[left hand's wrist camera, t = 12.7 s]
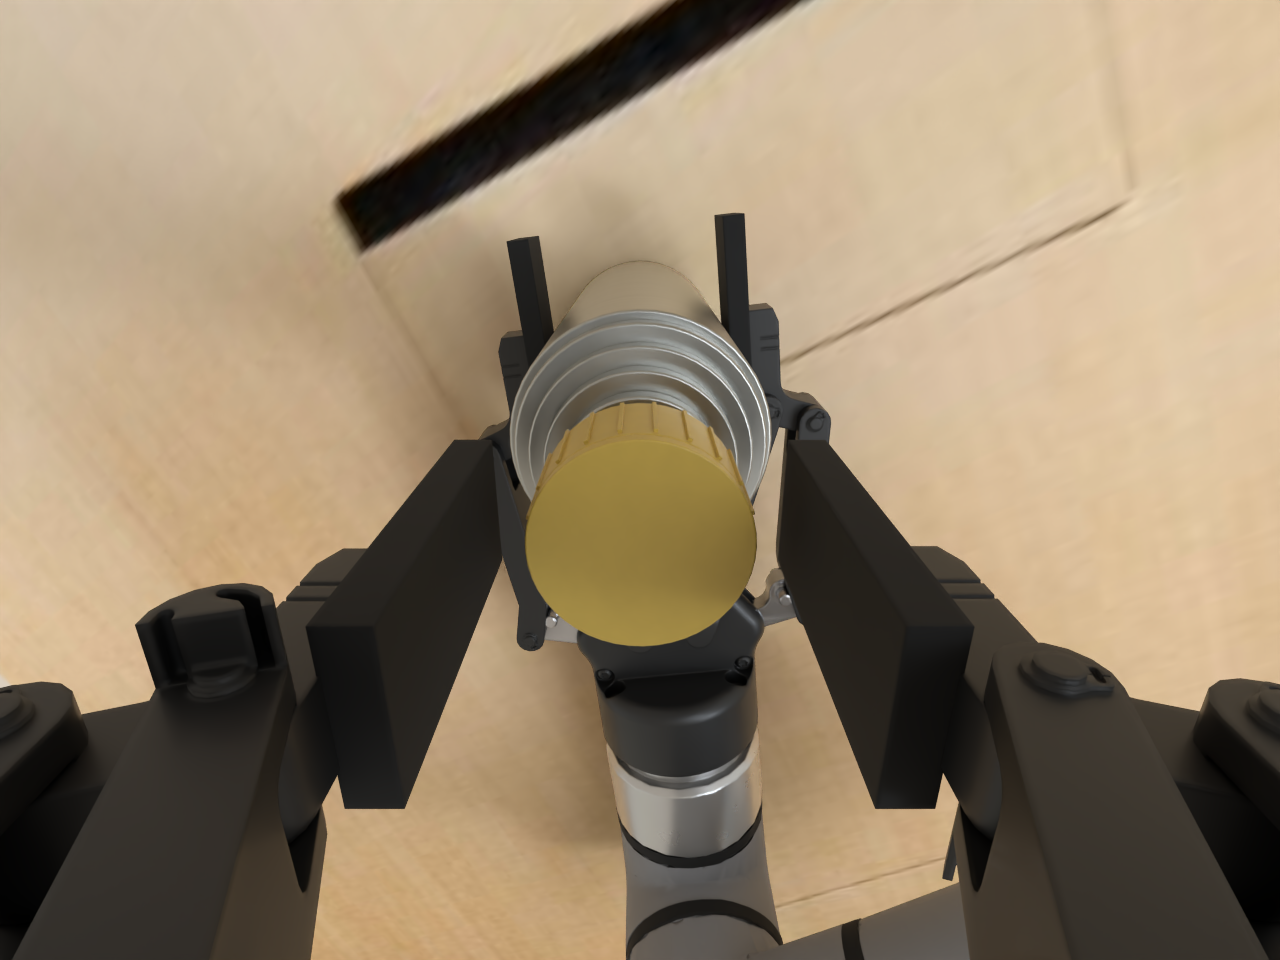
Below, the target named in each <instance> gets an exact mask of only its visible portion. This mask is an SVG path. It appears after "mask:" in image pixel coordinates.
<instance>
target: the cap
mask: <svg viewBox="0 0 1280 960" xmlns="http://www.w3.org/2000/svg"><path fill="white" fill-rule="evenodd" d="M535 489H536V491H535V494H534V497H533V499H532V502H531V505H530V507H529V510H528V513H527V515H526V520H528V521H527V524H526V532H525V554H526V560H527V565H528V568H529V571H530V574H531V577H532V579H533V582H534V584H535V586H536V588H537V590H538V591H539V593H540V594H541V596H542V597H543V599H544V600H545V602H546V603H547V604H548V605H549V606H550V607H551V609H552V610H553V611H554V612H555V613H556V614H557V615H559V616H560V617H561V618H562V619H563V620H564V621H566V622H567V623H569V624H570V625H571V626H573V627H574V628H576V629H578V630H580V631H581V632H583V633H585V634H587V635H589V636H592V637H595V638H597V639H600V640H603V641H607V642H610V643H614V644H620V645H627V646H654V645H661V644H667V643H672V642H675V641H678V640H682V639H685V638H687V637H690V636H692V635H694V634H696V633H698V632H700V631H702V630H704V629H705V628H707V627H709V626H710V625H712V624H713V623H714V622H716V621H717V620H718V619H720V618H721V617H722V616H723V615H724V614H725V613H726V612H727V611H728V610H729V609H730V608H731V607H732V606H733V605H734V603H735V602H736V601H737V600H738V598H739V597H740V595H741V594H742V592H743V590H744V589H745V587H746V585H747V583H748V581H749V578H750V576H751V573H752V570H753V566H754V563H755V558H756V549H757V536H756V528H755V522H754V518H753V515H754V514H755V513H754V509H753V506H752V504H751V501H750V498H749V496H748V493H747V490H746V488H745V485H744V482H743V480H742V477H741V475H740V473H739V470H738V468H737V465H736V462H735V460H734V457H733V454H732V452H731V450H730V449H728V450H727V449H726V447H725V446H724V444H723V443H722V442H721V440H720V439H719V438H718V437H717V436H716V435H715V434H714V431H713V428H712V427H711V426H709V427H707V426H706V425H704V424H703V423H702V422H700V421H699V420H697V419H696V418H694V417H692V416H691V415H689V414H687V411H685V410H683V411H680V410H677V409H674V408H671V407H667V406H663V405H657V404H656V402H652V404H649V403H633V404H624V402H623V403H620V405H619V406H614V407H610V408H608V409H605V410H602V411H599V412H597V413H594V412H592V413H590V416H589V417H587V418H586V419H584V420H583V421H581V422H580V423H578V424H577V425H576V426H575V427H573V428H572V429H571V430H570V431H569V430H568V429H567V430H566V431H565V434H564V437H563V439H562V440H561V441H560V442H559V443H558V445H557V446H556V448H555V450H554V451H553V453H552V454H551V453H549V454H548V456H547V459H546V462H545V464H544V467H543V470H542V472H541V475H540V478H539V480H538V483H537V486H536V488H535Z"/></svg>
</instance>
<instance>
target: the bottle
mask: <svg viewBox="0 0 1280 960" xmlns="http://www.w3.org/2000/svg"><path fill="white" fill-rule="evenodd" d="M623 402H624V404H633V403H649V404H652V402H656V404H657V405H663V406H667V407H671V408H674V409H677V410H680V411H683V410H685V411H687V414H689V415H691V416H692V417H694V418H696V419H697V420H699V421H700V422H702V423H703V424H704V425H706V426H707V427H709V426H711V427H712V428H713V431H714V434H715V435H716V436H717V437H718V438H719V439H720V440H721V442H722V443H723V444H724V446H725V447H726V449H727V450H728V449H730V450H731V452H732V454H733V457H734V460H735V462H736V465H737V468H738V470H739V473H740V475H741V477H742V480H743V482H744V485H745V488H746V490H747V493H748V496H749V498H750V501H751V500H752V498H753V496H754V494H755V493H756V491H757V489H758V487H759V486H760V483H761V481H762V478H763V476H764V473H765V471H766V467H767V463H768V459H769V455H770V447H771V420H770V413H769V407H768V404H767V400H766V397H765V394H764V391H763V388H762V386H761V384H760V382H759V380H758V378H757V376H756V374H755V372H754V371H753V369H752V368H751V366H750V365H749V363H748V362H747V360H746V359H745V357H744V356H743V354H742V353H741V352H740V350H739V349H738V347H737V346H736V344H735V343H734V341H733V340H732V339H731V337H730V336H729V334H728V333H727V331H726V330H725V329H724V327H723V326H722V324H721V323H720V321H719V320H718V318H717V317H716V316H715V314H714V313H713V311H712V310H711V308H710V307H709V305H708V304H707V303H706V301H705V300H704V298H703V297H702V295H701V294H700V292H699V291H698V290H697V288H696V287H695V286H694V285H693V284H692V283H691V282H690V281H689V280H688V279H687V278H686V277H685V276H683V275H682V274H680V273H679V272H677V271H676V270H674V269H672V268H670V267H668V266H665V265H662V264H659V263H654V262H648V261H634V262H627V263H623V264H619V265H616V266H614V267H611V268H609V269H607V270H605V271H604V272H602V273H601V274H599V275H598V276H597V277H595V278H594V279H593V280H592V281H591V282H590V283H589V284H588V285H587V286H586V287H585V289H584V290H583V291H582V292H581V294H580V295H579V297H578V298H577V300H576V301H575V303H574V304H573V306H572V307H571V308H570V310H569V311H568V313H567V314H566V316H565V317H564V319H563V320H562V321H561V323H560V324H559V326H558V327H557V329H556V330H555V332H554V333H553V334H552V336H551V337H550V339H549V340H548V342H547V343H546V345H545V346H544V348H543V349H542V350H541V352H540V353H539V355H538V356H537V358H536V359H535V361H534V362H533V363H532V365H531V366H530V368H529V370H528V372H527V373H526V375H525V377H524V378H523V380H522V382H521V385H520V387H519V390H518V392H517V395H516V397H515V401H514V405H513V409H512V414H511V423H510V446H511V452H512V458H513V463H514V466H515V469H516V472H517V475H518V478H519V480H520V482H521V484H522V487H523V489H524V491H525V492H526V494H527V496H528V497H529V499H530V500H531V502H532V499H533V497H534V494H535V491H536V489H535V488H536V486H537V483H538V480H539V478H540V475H541V472H542V470H543V467H544V464H545V462H546V459H547V456H548V454H549V453H551V454H552V453H553V451H554V450H555V448H556V446H557V445H558V443H559V442H560V441H561V440H562V439H563V437H564V434H565V431H566V430H567V429H568V430H569V431H570V430H571V429H572V428H573V427H575V426H576V425H577V424H578V423H580V422H581V421H583V420H584V419H586V418H587V417H589V416H590V413H592V412H594V413H597V412H599V411H602V410H605V409H608V408H610V407H614V406H619V405H620V403H623Z"/></svg>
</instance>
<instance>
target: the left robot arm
mask: <svg viewBox="0 0 1280 960" xmlns="http://www.w3.org/2000/svg"><path fill="white" fill-rule="evenodd" d="M501 561H502V551H501V539H500V527H499V516H498V504H497V492H496V481H495V469H494V457H493V446H492V440H454V441H453V442H452V444H451V445H450V446H449V447H448V449H447V450H446V451H445V452H444V454H443V455H442V456H441V457H440V459H439V460H438V461H437V462H436V464H435V465H434V466H433V467H432V469H431V470H430V471H429V472H428V474H427V475H426V476H425V477H424V479H423V480H422V481H421V482H420V484H419V485H418V486H417V487H416V489H415V490H414V491H413V492H412V494H411V495H410V496H409V497H408V499H407V500H406V501H405V502H404V504H403V505H402V506H401V507H400V509H399V510H398V511H397V512H396V514H395V515H394V516H393V517H392V519H391V520H390V521H389V522H388V524H387V525H386V526H385V527H384V529H383V530H382V531H381V532H380V534H379V535H378V536H377V537H376V539H375V540H374V541H373V542H372V544H371V545H370V546H369V547H368V549H342V550H340V551H338V552H337V553H335V554H333V555H331V556H330V557H328V558H326V559H325V560H323V561H321V562H319V563H318V564H316V565H315V566H314V567H313V569H312V570H311V571H310V572H309V573H308V574H307V575H306V576H305V577H304V578H303V580H302V581H301V582H300V586H296V587H295V588H294V589H293V591H292V592H291V593H290V594H289V595H288V596H287V597H286V601H283V602H282V603H281V604H280V605H279V606H278V607H277V608H276V607H275V602H274V598H273V594H272V593H271V592H269V591H268V590H267V589H265V588H264V587H262V586H257V585H252V584H246V583H238V584H221V585H216V586H211V587H207V588H202V589H197V590H194V591H191V592H188V593H186V594H183V595H180V596H178V597H175V598H172V599H170V600H168V601H166V602H164V603H163V604H161V605H159V606H157V607H156V608H154V609H152V610H150V611H149V612H148V613H147V614H146V615H145V616H144V617H143V618H141V619H140V620H139V621H138V622H137V623H136V624H135V627H136V630H137V633H138V636H139V639H140V642H141V645H142V648H143V651H144V654H145V657H146V660H147V663H148V666H149V669H150V672H151V676H152V679H153V682H154V685H155V688H156V689H155V691H154V693H153V695H152V697H151V699H150V701H146V702H142V703H137V704H132V705H127V706H122V707H117V708H112V709H107V710H102V711H97V712H92V713H87V714H82V715H81V713H80V710H79V707H78V705H77V702H76V700H75V697H74V694H73V692H72V691H71V690H70V689H68V688H67V687H65V686H64V685H63V684H60V683H50V682H35V683H28V684H21V685H11V686H7V687H3V688H0V960H310V959H311V952H312V944H313V937H314V929H315V922H316V914H317V907H318V899H319V892H320V884H321V877H322V869H323V862H324V854H325V847H326V839H327V829H326V822H325V816H324V812H323V808H322V803H323V801H324V799H325V797H326V796H327V794H328V792H329V790H330V788H331V786H332V784H333V782H334V781H335V779H336V777H337V775H338V780H339V784H340V789H341V793H342V798H343V803H344V807H345V809H405V806H406V804H407V801H408V799H409V796H410V794H411V791H412V789H413V786H414V784H415V781H416V778H417V776H418V773H419V771H420V768H421V766H422V763H423V761H424V758H425V755H426V753H427V750H428V748H429V745H430V743H431V740H432V738H433V735H434V732H435V730H436V727H437V725H438V722H439V720H440V717H441V715H442V712H443V709H444V707H445V704H446V702H447V699H448V697H449V694H450V692H451V689H452V686H453V684H454V681H455V679H456V676H457V674H458V671H459V669H460V666H461V664H462V661H463V658H464V656H465V653H466V651H467V648H468V646H469V643H470V641H471V638H472V635H473V633H474V630H475V628H476V625H477V623H478V620H479V618H480V615H481V612H482V610H483V607H484V605H485V602H486V600H487V597H488V595H489V592H490V589H491V587H492V584H493V582H494V579H495V577H496V574H497V572H498V569H499V566H500V564H501ZM778 561H779V564H780V567H781V569H782V572H783V574H784V577H785V579H786V582H787V584H788V587H789V589H790V592H791V595H792V597H793V600H794V602H795V605H796V607H797V610H798V612H799V615H800V618H801V620H802V623H803V625H804V628H805V630H806V633H807V635H808V638H809V641H810V643H811V646H812V648H813V651H814V653H815V656H816V658H817V661H818V664H819V666H820V669H821V671H822V674H823V676H824V679H825V681H826V684H827V687H828V689H829V692H830V694H831V697H832V699H833V702H834V704H835V707H836V709H837V712H838V715H839V717H840V720H841V722H842V725H843V727H844V730H845V732H846V735H847V738H848V740H849V743H850V745H851V748H852V750H853V753H854V755H855V758H856V761H857V763H858V766H859V768H860V771H861V773H862V776H863V778H864V781H865V784H866V786H867V789H868V791H869V794H870V796H871V799H872V801H873V804H874V807H875V809H935V807H936V803H937V798H938V793H939V789H940V784H941V780H942V775H943V773H944V775H945V777H946V779H947V781H948V783H949V784H950V786H951V788H952V790H953V792H954V794H955V796H956V797H957V799H958V801H959V804H958V808H957V812H956V816H955V821H954V825H953V829H952V834H951V838H950V842H949V846H948V851H947V855H946V859H945V864H944V871H943V878H942V879H946V880H950V881H952V879H953V875H954V871H955V867H956V865H957V868H958V875H959V883H960V890H961V897H962V905H963V912H964V920H965V927H966V935H967V942H968V950H969V957H970V960H1280V684H1276V683H1271V682H1262V681H1255V680H1248V679H1241V678H1239V679H1229V680H1220V681H1218V682H1217V683H1215V684H1214V685H1213V686H1211V687H1210V688H1209V689H1208V692H1207V694H1206V697H1205V700H1204V702H1203V705H1202V707H1201V710H1200V711H1195V710H1190V709H1184V708H1179V707H1174V706H1169V705H1164V704H1159V703H1154V702H1149V701H1144V700H1139V699H1135V698H1131V697H1129V695H1128V694H1127V692H1126V690H1125V688H1124V687H1123V685H1122V684H1121V683H1120V682H1119V681H1118V680H1117V678H1116V677H1115V676H1114V675H1113V674H1112V673H1111V672H1110V671H1108V670H1107V669H1105V668H1104V667H1102V666H1101V665H1099V664H1098V663H1096V662H1095V661H1094V660H1092V659H1090V658H1087V657H1085V656H1083V655H1081V654H1078V653H1076V652H1074V651H1071V650H1069V649H1066V648H1062V647H1058V646H1054V645H1050V644H1046V643H1038V642H1037V641H1036V640H1035V639H1034V638H1033V637H1032V636H1031V635H1030V633H1029V632H1028V631H1027V630H1026V629H1025V628H1024V627H1023V626H1022V625H1021V624H1020V622H1019V621H1018V620H1017V619H1016V618H1015V617H1014V616H1013V615H1012V614H1011V613H1010V612H1009V610H1008V609H1007V608H1006V607H1005V606H1004V605H1003V604H1002V603H1001V602H1000V601H999V600H998V599H995V598H994V594H993V593H992V592H991V591H990V590H989V589H988V588H987V586H986V585H985V584H984V583H981V582H980V579H979V578H978V577H977V576H976V574H975V573H974V572H973V571H972V570H971V569H970V568H969V567H968V566H967V565H966V563H965V562H963V561H962V560H960V559H958V558H957V557H955V556H953V555H951V554H950V553H948V552H946V551H944V550H943V549H941V548H939V547H937V546H910V545H909V544H908V542H907V541H906V540H905V539H904V537H903V536H902V535H901V534H900V532H899V531H898V530H897V529H896V527H895V526H894V525H893V524H892V522H891V521H890V520H889V519H888V517H887V516H886V515H885V514H884V512H883V511H882V510H881V509H880V507H879V506H878V505H877V504H876V502H875V501H874V500H873V499H872V497H871V496H870V495H869V494H868V492H867V491H866V490H865V489H864V487H863V486H862V485H861V484H860V482H859V481H858V480H857V479H856V477H855V476H854V475H853V474H852V472H851V471H850V470H849V469H848V467H847V466H846V465H845V464H844V462H843V461H842V460H841V459H840V457H839V456H838V455H837V454H836V452H835V451H834V450H833V449H832V447H831V446H830V445H829V444H828V442H827V441H826V440H788V446H787V457H786V469H785V481H784V492H783V504H782V516H781V527H780V539H779V551H778Z"/></svg>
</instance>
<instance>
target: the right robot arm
mask: <svg viewBox="0 0 1280 960" xmlns="http://www.w3.org/2000/svg"><path fill="white" fill-rule="evenodd" d="M714 216H715V231H716V247H717V263H718V278H719V294H720V310H721V324H722V326H723V327H724V329H725V330H726V331H727V333H728V334H729V336H730V337H731V339H732V340H733V341H734V343H735V344H736V346H737V347H738V349H739V350H740V352H741V353H742V354H743V356H744V357H745V359H746V360H747V362H748V363H749V365H750V366H751V368H752V369H753V371H754V372H755V374H756V376H757V378H758V380H759V382H760V384H761V386H762V388H763V391H764V394H765V397H766V400H767V404H768V407H769V413H770V420H771V447H770V453H771V450H772V447H773V444H774V441H775V438H776V435H777V432H778V429H779V427H782V428H785V440H784V452H783V464H782V477H781V489H780V501H779V513H778V526H777V538H776V556H777V562H778V566H779V568H774V569H772V570H771V572H770V574H769V575H768V577H767V579H766V589H765V591H764V593H763V594H762V595H761V596H759V597H757V598H755V597H754V596H753V595H752V594H751V593H750V592H749V591H748V590H747V589H746V588H745V589H744V590H743V592H742V594H741V595H740V597H739V598H738V600H737V601H736V602H735V603H734V605H733V606H732V607H731V608H730V609H729V610H728V611H727V612H726V613H725V614H724V615H723V616H722V617H721V618H720V619H718V620H717V621H716V622H714V623H713V624H712V625H710V626H709V627H707V628H705V629H704V630H702V631H700V632H698V633H696V634H694V635H692V636H690V637H687V638H685V639H682V640H678V641H675V642H672V643H667V644H661V645H654V646H627V645H620V644H614V643H610V642H607V641H603V640H600V639H597V638H595V637H592V636H589V635H587V634H585V633H583V632H581V631H580V630H578V629H576V628H574V627H573V626H571V625H570V624H569V623H567V622H566V621H564V620H563V619H562V618H561V617H560V616H559V615H557V614H556V613H555V612H554V611H553V610H552V609H551V607H550V606H549V605H548V604H547V603H546V602H545V600H544V599H543V597H542V596H541V594H540V593H539V591H538V590H537V588H536V586H535V584H534V582H533V579H532V577H531V574H530V571H529V568H528V565H527V560H526V554H525V532H526V524H527V521H528V520H526V515H527V513H528V510H529V507H530V505H531V500H530V499H529V497H528V496H527V494H526V492H525V491H524V489H523V487H522V484H521V482H520V480H519V478H518V475H517V472H516V469H515V466H514V463H513V458H512V452H511V446H510V423H511V414H512V409H513V405H514V401H515V397H516V395H517V392H518V390H519V387H520V385H521V382H522V380H523V378H524V377H525V375H526V373H527V372H528V370H529V368H530V366H531V365H532V363H533V362H534V361H535V359H536V358H537V356H538V355H539V353H540V352H541V350H542V349H543V348H544V346H545V345H546V343H547V342H548V340H549V339H550V337H551V336H552V334H553V333H554V330H553V324H552V317H551V311H550V304H549V298H548V292H547V285H546V279H545V272H544V266H543V260H542V253H541V247H540V241H539V236H534V237H525V238H518V239H514V240H511V241H507V247H508V252H509V258H510V264H511V270H512V275H513V281H514V287H515V293H516V298H517V304H518V310H519V316H520V321H521V327H522V330H520V331H511V332H507V333H506V334H505V335H504V336H503V337H502V338H501V342H500V347H499V358H500V363H501V367H502V373H503V377H504V384H505V389H506V395H507V400H508V405H509V411H510V418H509V419H508V420H506V421H504V422H502V423H500V424H498V425H492V426H489V427H488V428H487V429H486V430H485V431H484V432H483V434H482V435H481V437H480V438H479V440H492V446H493V457H494V469H495V481H496V492H497V504H498V516H499V527H500V539H501V551H502V556H503V559H504V562H505V565H506V568H507V571H508V574H509V577H510V580H511V583H512V586H513V589H514V592H515V595H516V598H517V601H518V604H519V616H518V629H517V643H518V644H519V646H520V647H521V648H523V649H524V650H527V651H535V650H538V649H540V648H541V647H542V646H543V643H544V640H552V641H561V642H570V643H577V644H578V647H579V649H580V651H581V652H582V654H583V655H584V656H585V657H586V658H587V659H588V660H589V662H590V663H591V665H592V668H593V672H594V677H595V683H596V689H597V695H598V701H599V707H600V713H601V719H602V725H603V731H604V736H605V739H606V741H607V745H606V751H607V756H608V762H609V767H610V773H611V779H612V784H613V790H614V795H615V801H616V809H617V813H618V818H619V822H620V826H621V834H622V842H623V850H624V858H625V867H626V880H627V906H626V960H970V957H969V950H968V942H967V935H966V927H965V920H964V912H963V905H962V897H961V890H960V883H956V884H954V885H951V886H948V887H946V888H943V889H940V890H938V891H935V892H932V893H930V894H927V895H924V896H922V897H919V898H916V899H914V900H911V901H908V902H906V903H903V904H900V905H898V906H895V907H892V908H890V909H887V910H884V911H882V912H879V913H876V914H874V915H871V916H868V917H866V918H863V919H857V920H854V921H851V922H848V923H845V924H842V925H839V926H836V927H833V928H830V929H827V930H824V931H821V932H818V933H815V934H812V935H809V936H807V937H804V938H801V939H798V940H795V941H792V942H789V943H786V944H783V941H782V938H781V935H780V932H779V927H778V922H777V917H776V912H775V906H774V901H773V896H772V891H771V886H770V880H769V874H768V867H767V860H766V849H765V839H764V828H763V818H762V776H761V761H760V746H759V732H758V727H757V723H758V709H757V692H756V674H755V657H754V655H755V649H756V646H757V644H758V642H759V640H760V638H761V637H762V635H763V632H764V627H765V626H768V625H771V624H775V623H778V622H781V621H785V620H788V619H791V618H795V617H797V619H798V621H799V622H800V623H801V624H803V623H802V620H801V618H800V615H799V612H798V610H797V607H796V605H795V602H794V600H793V597H792V595H791V592H790V589H789V587H788V584H787V582H786V579H785V577H784V574H783V572H782V569H781V567H780V564H779V561H778V551H779V539H780V527H781V516H782V504H783V492H784V481H785V469H786V457H787V446H788V440H826V441H827V442H828V444H829V437H830V427H831V419H830V416H829V414H828V413H827V412H826V410H825V409H824V408H823V407H822V406H821V405H820V404H819V403H818V402H817V401H816V399H815V398H814V397H813V396H811V395H810V394H809V393H804V392H802V393H796V392H791V391H787V390H785V389H783V388H782V387H781V381H780V350H779V321H778V319H777V317H776V314H775V312H774V310H773V308H772V307H771V306H769V305H768V304H767V303H762V304H753V305H749V299H748V278H747V258H746V237H745V216H744V213H729V214H720V215H714ZM769 456H770V455H769ZM758 489H759V487H758ZM758 489H757V491H756V493H755V494H754V496H753V498H752V500H751V504H752V506H753V504H754V501H755V498H756V495H757V492H758Z"/></svg>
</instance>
